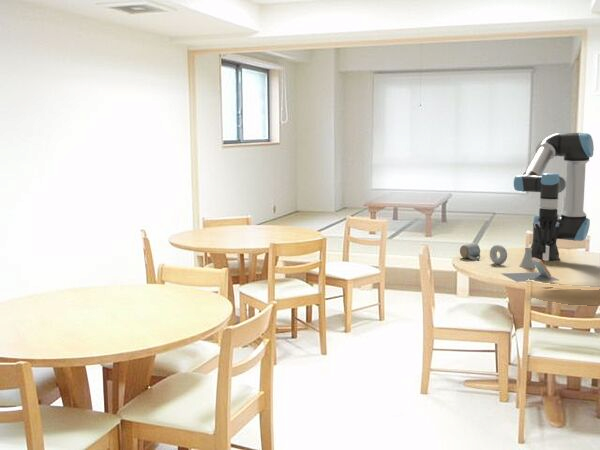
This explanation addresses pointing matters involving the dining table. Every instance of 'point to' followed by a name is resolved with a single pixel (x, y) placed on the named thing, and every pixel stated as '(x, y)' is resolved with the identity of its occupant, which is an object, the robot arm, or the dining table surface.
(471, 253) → the ceramic mug
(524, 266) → the flask
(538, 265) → the tile
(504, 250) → the donut
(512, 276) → the mat
